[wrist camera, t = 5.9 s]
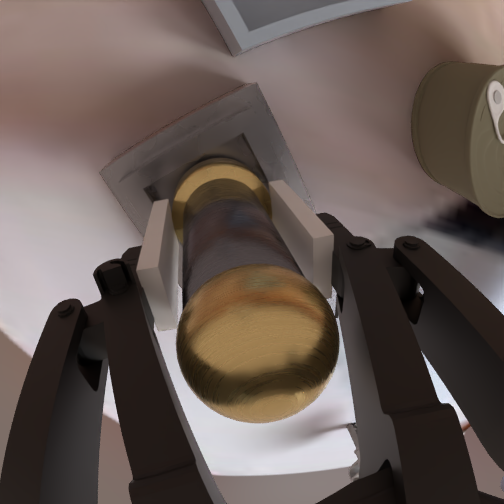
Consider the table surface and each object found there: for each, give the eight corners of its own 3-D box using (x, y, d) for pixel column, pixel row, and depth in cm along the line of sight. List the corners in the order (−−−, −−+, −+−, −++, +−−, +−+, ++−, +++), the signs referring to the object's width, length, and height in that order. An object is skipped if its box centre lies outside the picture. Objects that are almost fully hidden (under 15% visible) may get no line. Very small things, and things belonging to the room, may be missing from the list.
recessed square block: (247, 83, 18) (261, 82, 14) (306, 209, 23) (329, 234, 19) (111, 160, 19) (93, 178, 15) (187, 272, 24) (188, 307, 20)
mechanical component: (331, 442, 44) (351, 491, 36) (357, 408, 40) (383, 464, 31) (347, 439, 45) (367, 486, 36) (373, 405, 40) (400, 458, 32)
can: (446, 212, 26) (495, 246, 20) (383, 118, 21) (444, 135, 15) (506, 132, 23) (556, 152, 17) (457, 35, 18) (518, 37, 12)
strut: (165, 167, 16) (121, 354, 5) (259, 151, 17) (401, 296, 6) (182, 250, 19) (192, 466, 8) (267, 235, 19) (363, 427, 8)
